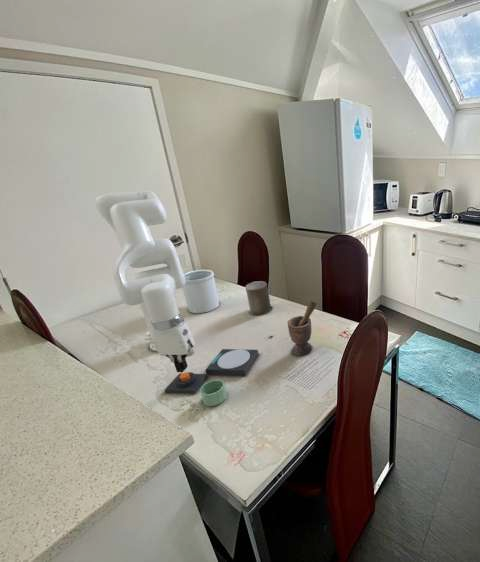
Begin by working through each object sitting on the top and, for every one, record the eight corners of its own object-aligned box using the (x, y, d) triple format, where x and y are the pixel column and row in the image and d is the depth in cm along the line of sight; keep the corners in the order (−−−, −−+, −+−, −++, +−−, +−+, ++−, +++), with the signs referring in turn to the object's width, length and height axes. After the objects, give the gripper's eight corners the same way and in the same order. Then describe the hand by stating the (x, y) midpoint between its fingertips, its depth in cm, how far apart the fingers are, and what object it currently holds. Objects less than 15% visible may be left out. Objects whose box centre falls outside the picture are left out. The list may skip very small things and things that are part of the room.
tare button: (178, 381, 103) (177, 377, 103) (184, 375, 106) (182, 372, 105) (187, 381, 103) (185, 378, 102) (192, 376, 106) (190, 372, 105)
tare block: (165, 393, 102) (162, 386, 101) (180, 376, 109) (178, 369, 108) (194, 393, 101) (192, 386, 100) (208, 377, 109) (206, 370, 108)
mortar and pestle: (307, 337, 130) (302, 295, 122) (323, 344, 126) (319, 300, 118) (287, 352, 121) (280, 307, 113) (303, 359, 117) (297, 313, 109)
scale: (206, 375, 110) (205, 368, 109) (223, 354, 121) (222, 348, 120) (245, 376, 109) (244, 369, 108) (259, 355, 120) (257, 349, 119)
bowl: (199, 407, 96) (195, 394, 94) (210, 391, 103) (207, 379, 101) (220, 407, 96) (217, 395, 94) (231, 391, 102) (227, 379, 100)
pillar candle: (274, 310, 152) (269, 282, 146) (254, 317, 146) (249, 288, 140) (266, 303, 159) (261, 276, 153) (247, 310, 153) (241, 282, 147)
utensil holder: (211, 297, 166) (203, 267, 159) (226, 304, 158) (219, 273, 151) (182, 308, 156) (173, 276, 149) (197, 317, 147) (188, 283, 140)
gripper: (197, 315, 98) (210, 362, 106) (152, 315, 99) (168, 362, 106) (182, 328, 92) (198, 377, 99) (134, 327, 92) (152, 376, 100)
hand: (182, 369), depth 103 cm, fingers closed
